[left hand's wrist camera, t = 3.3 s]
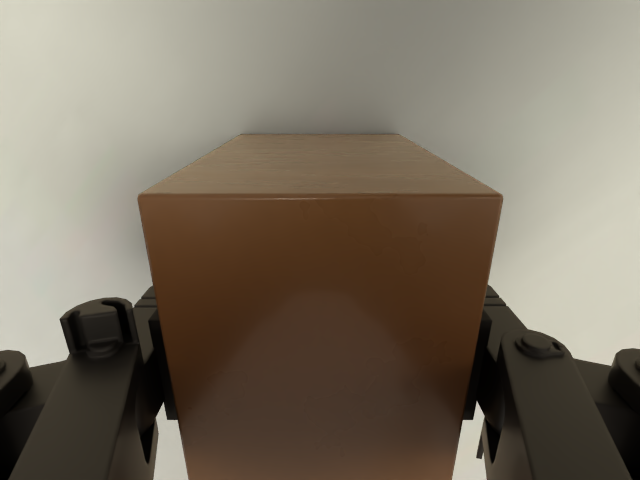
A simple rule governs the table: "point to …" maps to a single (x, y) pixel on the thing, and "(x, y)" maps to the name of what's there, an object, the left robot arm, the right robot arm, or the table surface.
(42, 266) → the table surface
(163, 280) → the post
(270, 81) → the table surface
